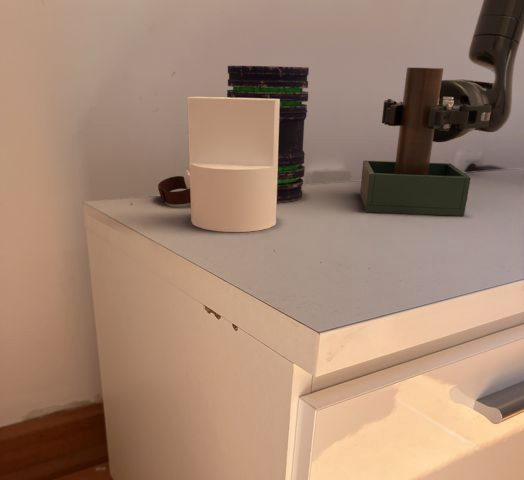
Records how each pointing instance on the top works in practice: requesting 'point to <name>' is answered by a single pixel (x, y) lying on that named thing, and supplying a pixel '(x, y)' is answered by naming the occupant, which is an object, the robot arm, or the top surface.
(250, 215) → the cylinder with rectangular tab
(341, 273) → the top surface
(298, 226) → the top surface
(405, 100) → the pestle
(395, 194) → the bin
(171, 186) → the watch
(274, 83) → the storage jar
